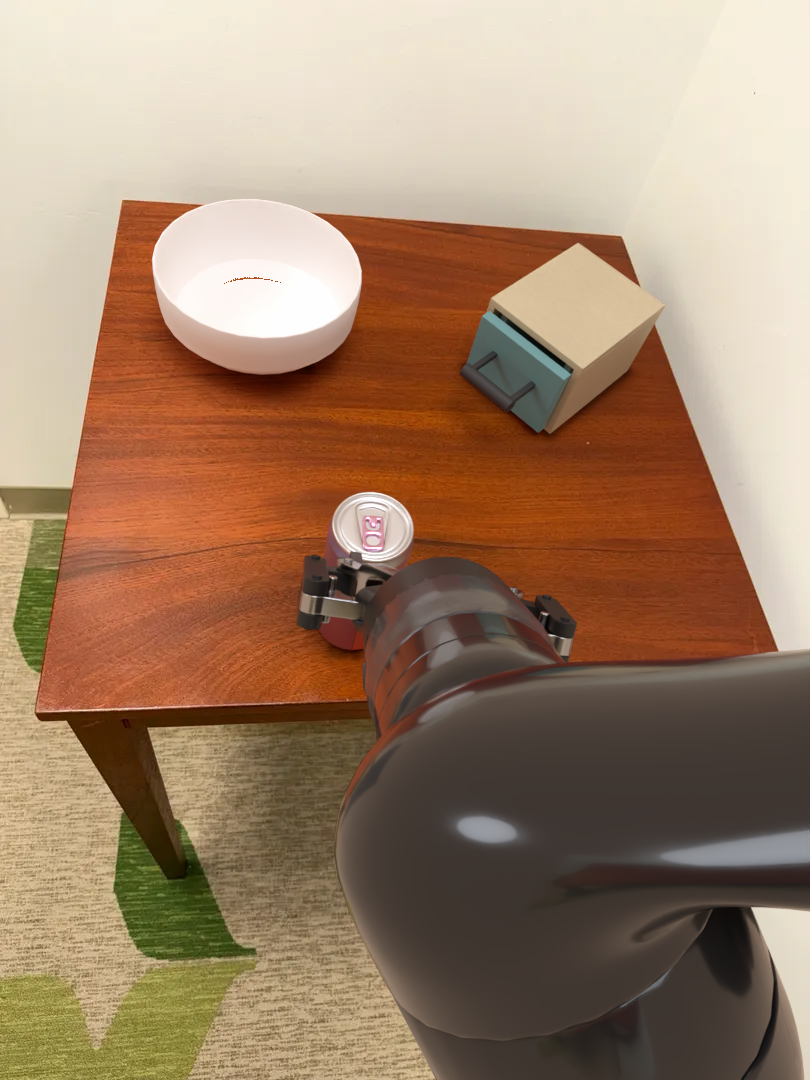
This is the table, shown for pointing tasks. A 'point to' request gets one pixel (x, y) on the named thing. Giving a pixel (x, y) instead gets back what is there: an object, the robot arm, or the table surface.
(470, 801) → the robot arm
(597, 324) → the beige box
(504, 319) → the drawer
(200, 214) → the bowl
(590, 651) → the table surface
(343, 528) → the beverage can
